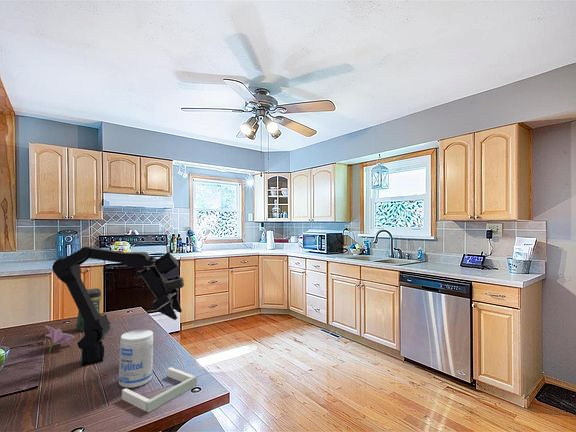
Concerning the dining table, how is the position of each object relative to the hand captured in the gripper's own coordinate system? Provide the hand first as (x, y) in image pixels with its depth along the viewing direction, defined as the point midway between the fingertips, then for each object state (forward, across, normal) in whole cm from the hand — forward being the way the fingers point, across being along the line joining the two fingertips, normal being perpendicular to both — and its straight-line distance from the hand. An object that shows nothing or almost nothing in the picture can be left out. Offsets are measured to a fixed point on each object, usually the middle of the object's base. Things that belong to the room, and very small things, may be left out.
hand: (178, 315), depth 116 cm
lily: (-14, +15, +49) cm, 53 cm away
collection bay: (+12, -25, +8) cm, 29 cm away
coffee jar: (-13, +38, +48) cm, 63 cm away
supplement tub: (+8, -18, +16) cm, 25 cm away
